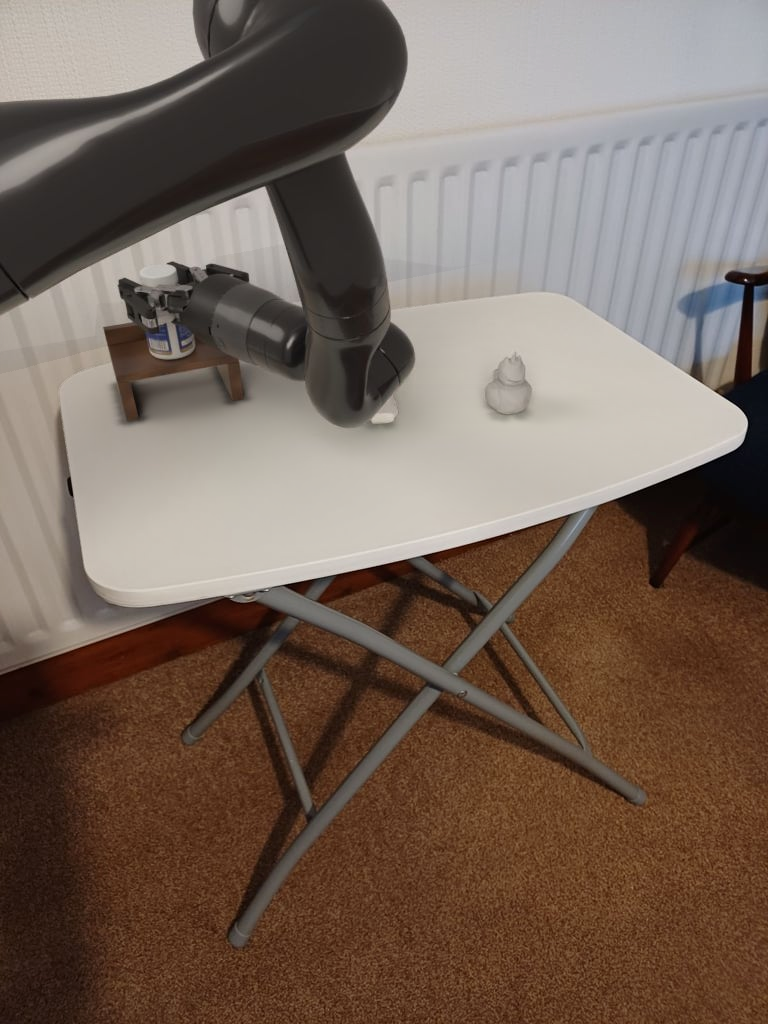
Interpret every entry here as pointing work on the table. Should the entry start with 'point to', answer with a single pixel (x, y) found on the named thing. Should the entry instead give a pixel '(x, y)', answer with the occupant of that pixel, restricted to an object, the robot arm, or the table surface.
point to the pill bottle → (171, 337)
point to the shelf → (161, 363)
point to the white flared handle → (386, 412)
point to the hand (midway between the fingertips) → (146, 278)
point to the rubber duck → (509, 387)
